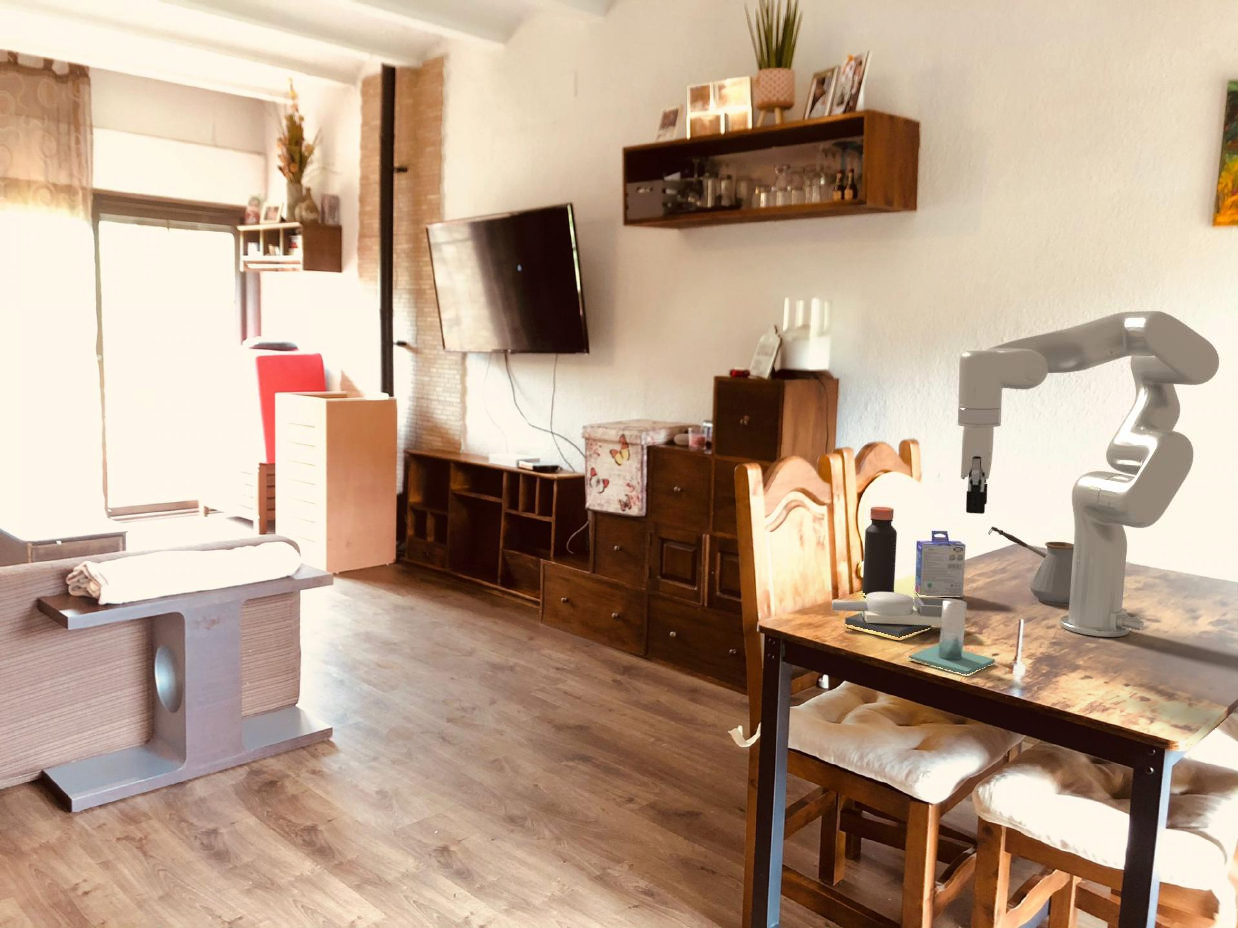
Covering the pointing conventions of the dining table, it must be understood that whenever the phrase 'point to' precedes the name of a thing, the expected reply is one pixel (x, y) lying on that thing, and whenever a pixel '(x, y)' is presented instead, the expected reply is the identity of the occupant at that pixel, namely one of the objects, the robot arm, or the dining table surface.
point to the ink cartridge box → (940, 566)
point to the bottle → (880, 552)
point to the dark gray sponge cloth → (885, 626)
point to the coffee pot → (1050, 571)
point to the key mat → (962, 666)
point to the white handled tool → (895, 608)
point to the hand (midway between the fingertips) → (976, 508)
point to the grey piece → (952, 629)
